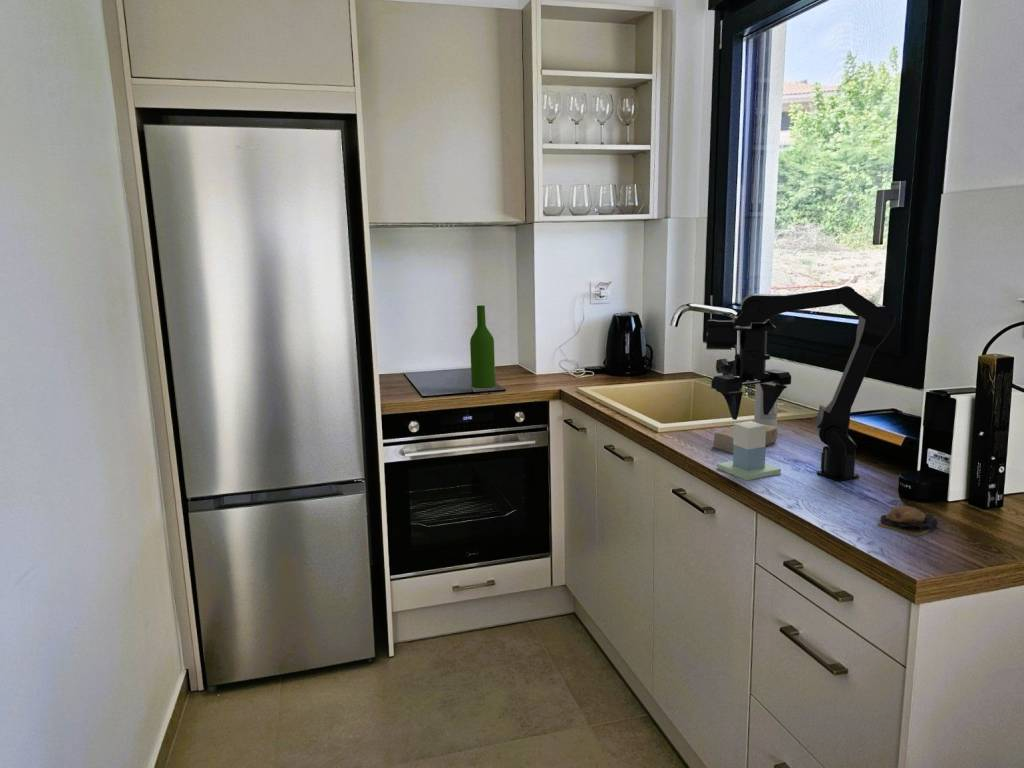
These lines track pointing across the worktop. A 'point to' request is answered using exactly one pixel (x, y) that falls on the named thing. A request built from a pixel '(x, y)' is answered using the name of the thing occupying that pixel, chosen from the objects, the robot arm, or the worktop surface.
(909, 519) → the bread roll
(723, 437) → the brick
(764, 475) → the green block
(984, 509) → the worktop surface
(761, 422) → the energy drink can
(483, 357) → the wine bottle
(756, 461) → the blue block
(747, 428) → the cream block
